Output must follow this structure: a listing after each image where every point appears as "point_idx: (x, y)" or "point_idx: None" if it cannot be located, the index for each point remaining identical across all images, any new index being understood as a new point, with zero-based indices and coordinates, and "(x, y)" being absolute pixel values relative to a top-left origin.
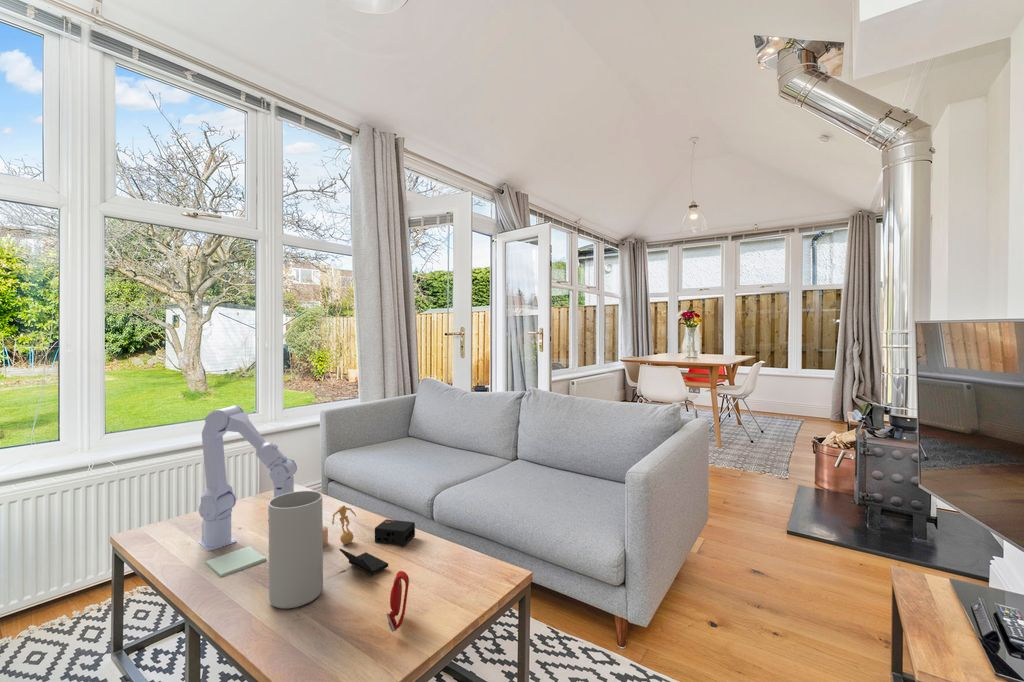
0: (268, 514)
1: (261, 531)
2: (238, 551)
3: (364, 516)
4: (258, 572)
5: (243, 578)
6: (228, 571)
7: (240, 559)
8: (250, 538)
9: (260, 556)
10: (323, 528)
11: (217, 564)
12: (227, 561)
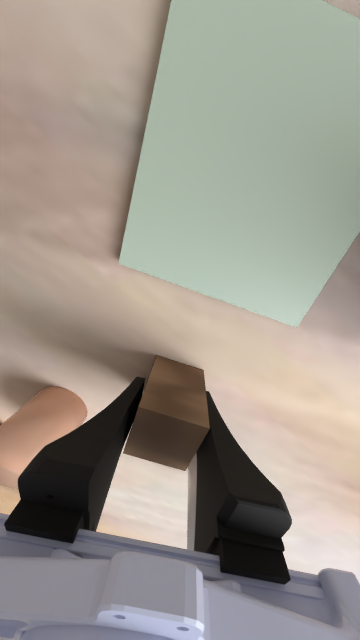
0: (351, 579)
1: (347, 437)
2: (313, 266)
3: (108, 532)
4: (53, 156)
5: (58, 56)
6: (170, 15)
7: (230, 197)
8: (354, 391)
9: (154, 262)
10: (8, 478)
11: (330, 70)
12: (289, 140)
